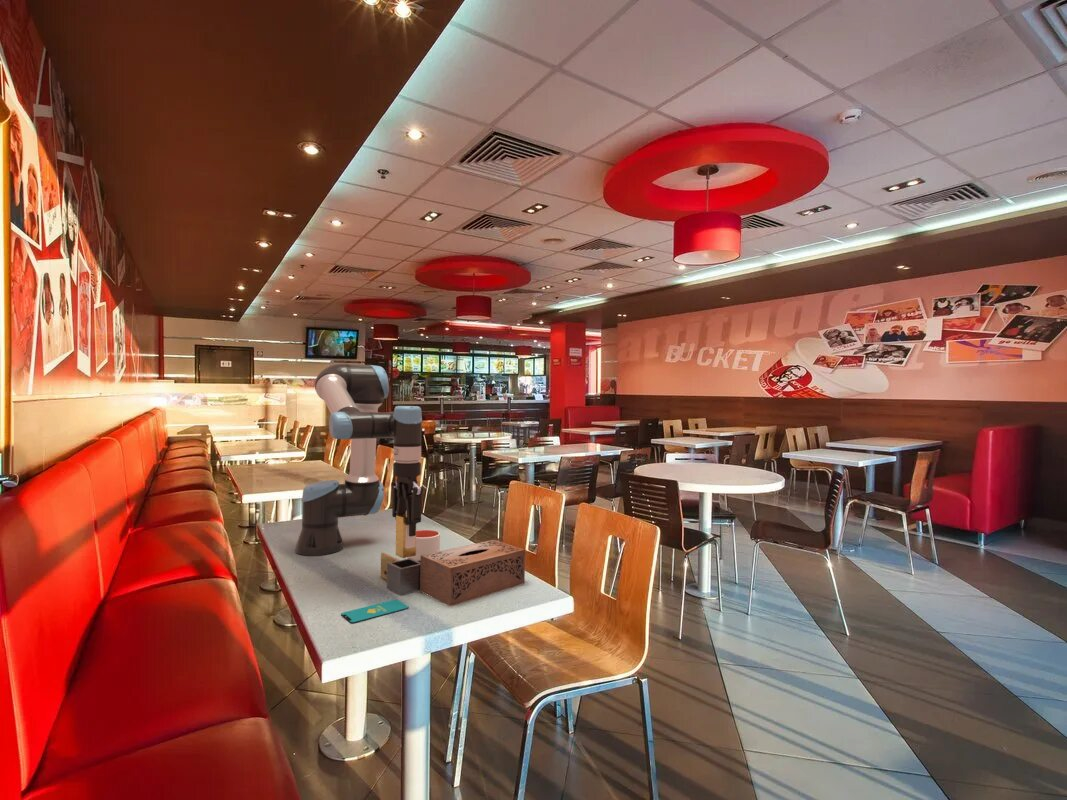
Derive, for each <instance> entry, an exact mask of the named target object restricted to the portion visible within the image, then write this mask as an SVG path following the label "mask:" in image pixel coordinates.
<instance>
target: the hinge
mask: <svg viewBox="0 0 1067 800" xmlns="http://www.w3.org/2000/svg"><path fill="white" fill-rule="evenodd" d="M380 578H383V579H385V580H386V589H387V590H389V591H391V592H393V593H394V594H397V595H398V596H403V595H407V594H411V593H414V591H415V592H418V591H420V560H417V561H416V560H414V559H411V558H408V559H407V558H403V559H399V558H397V557H394V556H393V555H389V554H388V553H386V552H381V553H380Z"/></svg>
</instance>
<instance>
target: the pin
mask: <svg viewBox="0 0 1067 800" xmlns="http://www.w3.org/2000/svg"><path fill="white" fill-rule="evenodd" d="M405 523H407V513H406V514H402V515H396V519H395V556H396V557H399V558H402V559H407V557H411V556H416V540H415V547H413V548H408V549H406V548H405V533H406V525H405Z"/></svg>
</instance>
